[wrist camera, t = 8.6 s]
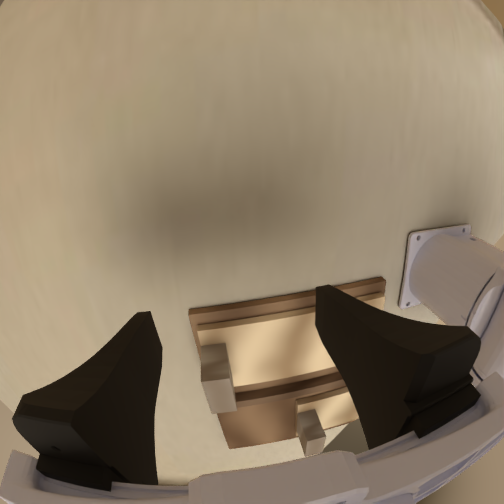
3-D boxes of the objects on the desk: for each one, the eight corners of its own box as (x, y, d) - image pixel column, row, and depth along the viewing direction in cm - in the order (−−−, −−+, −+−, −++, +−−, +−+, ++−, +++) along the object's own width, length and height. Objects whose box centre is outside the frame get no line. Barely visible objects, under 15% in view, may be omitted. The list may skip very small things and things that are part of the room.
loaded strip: (417, 361, 28) (437, 385, 24) (403, 395, 31) (419, 419, 27) (295, 400, 27) (307, 434, 22) (294, 431, 29) (304, 461, 25)
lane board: (381, 276, 24) (393, 286, 22) (352, 416, 32) (357, 427, 30) (189, 309, 22) (187, 324, 20) (228, 444, 30) (230, 456, 28)
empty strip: (380, 291, 23) (410, 320, 19) (370, 350, 26) (392, 381, 21) (197, 325, 22) (196, 367, 17) (212, 383, 24) (215, 423, 20)
